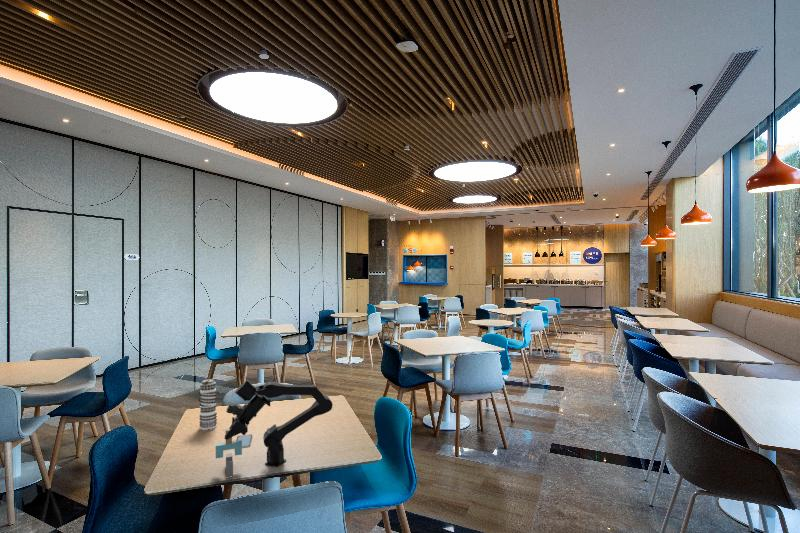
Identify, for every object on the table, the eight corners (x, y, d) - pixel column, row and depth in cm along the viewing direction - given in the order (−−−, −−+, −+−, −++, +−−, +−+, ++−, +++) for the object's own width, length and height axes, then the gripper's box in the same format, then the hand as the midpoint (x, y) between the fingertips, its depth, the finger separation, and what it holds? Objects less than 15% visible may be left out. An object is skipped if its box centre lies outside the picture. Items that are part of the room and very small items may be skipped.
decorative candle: (201, 431, 221) (201, 383, 221) (196, 427, 228) (196, 380, 228) (219, 427, 227) (219, 380, 227) (214, 422, 234) (213, 377, 234)
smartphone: (233, 448, 197) (237, 436, 212) (233, 450, 197) (237, 437, 212) (250, 446, 199) (252, 434, 214) (250, 448, 199) (252, 436, 214)
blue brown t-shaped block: (241, 452, 178) (241, 427, 178) (241, 454, 176) (241, 428, 176) (216, 456, 175) (215, 430, 175) (215, 458, 172) (215, 432, 172)
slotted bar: (225, 466, 179) (225, 454, 179) (232, 464, 180) (232, 453, 180) (226, 478, 168) (226, 465, 168) (233, 476, 169) (233, 464, 169)
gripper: (238, 390, 186) (211, 419, 182) (238, 401, 168) (208, 433, 164) (257, 406, 188) (231, 434, 184) (259, 419, 171) (230, 451, 167)
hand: (225, 438), depth 175 cm, fingers closed on blue brown t-shaped block, 2 cm apart
